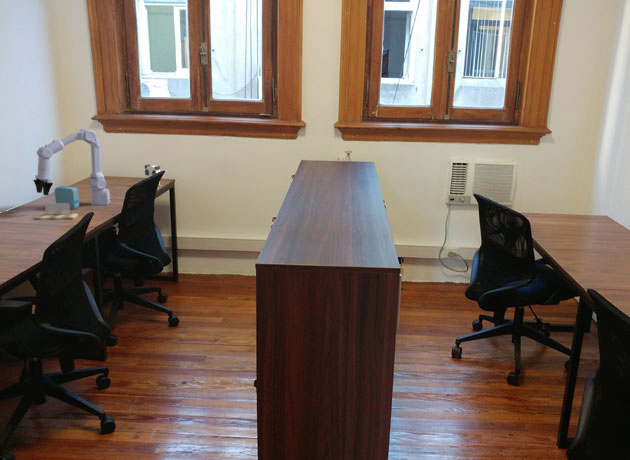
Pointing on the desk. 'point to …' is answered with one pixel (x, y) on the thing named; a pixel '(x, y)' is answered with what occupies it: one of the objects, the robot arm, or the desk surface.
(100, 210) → the desk surface
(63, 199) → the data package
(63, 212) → the bookend
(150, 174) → the panda figurine
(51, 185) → the robot arm
